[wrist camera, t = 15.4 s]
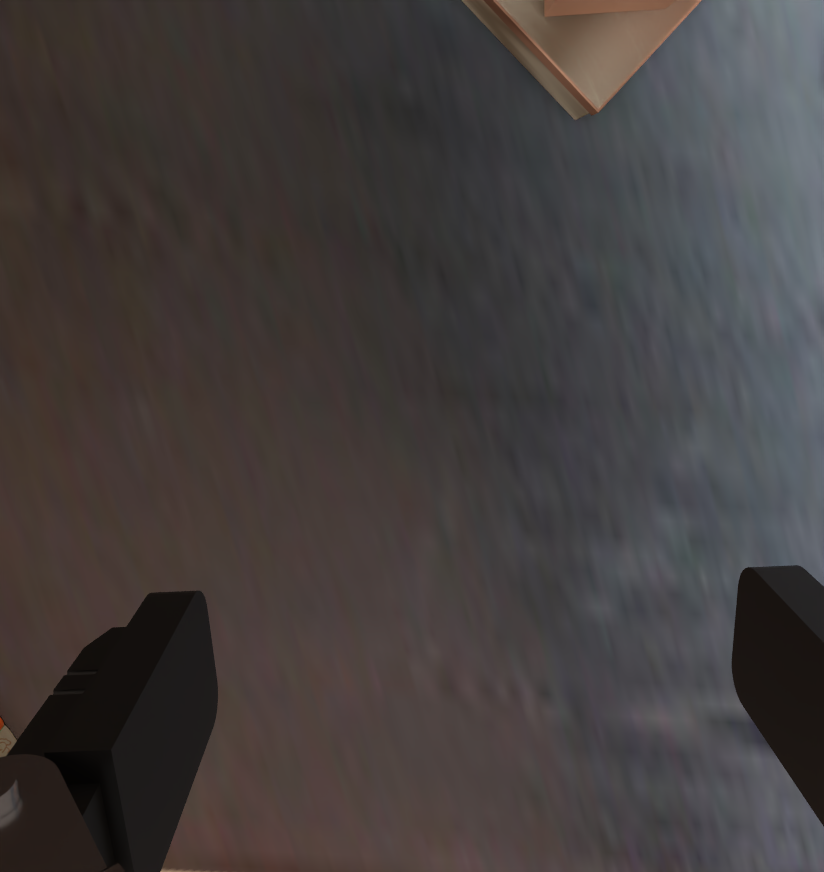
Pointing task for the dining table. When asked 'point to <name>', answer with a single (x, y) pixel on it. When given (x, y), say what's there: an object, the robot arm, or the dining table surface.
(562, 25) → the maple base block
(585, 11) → the terracotta block
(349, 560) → the dining table surface
